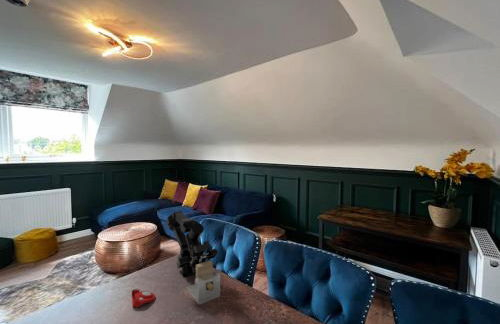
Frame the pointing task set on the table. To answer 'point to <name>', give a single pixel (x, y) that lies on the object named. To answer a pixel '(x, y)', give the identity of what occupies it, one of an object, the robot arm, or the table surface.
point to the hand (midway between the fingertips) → (203, 276)
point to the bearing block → (205, 288)
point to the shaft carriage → (205, 272)
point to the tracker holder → (141, 297)
